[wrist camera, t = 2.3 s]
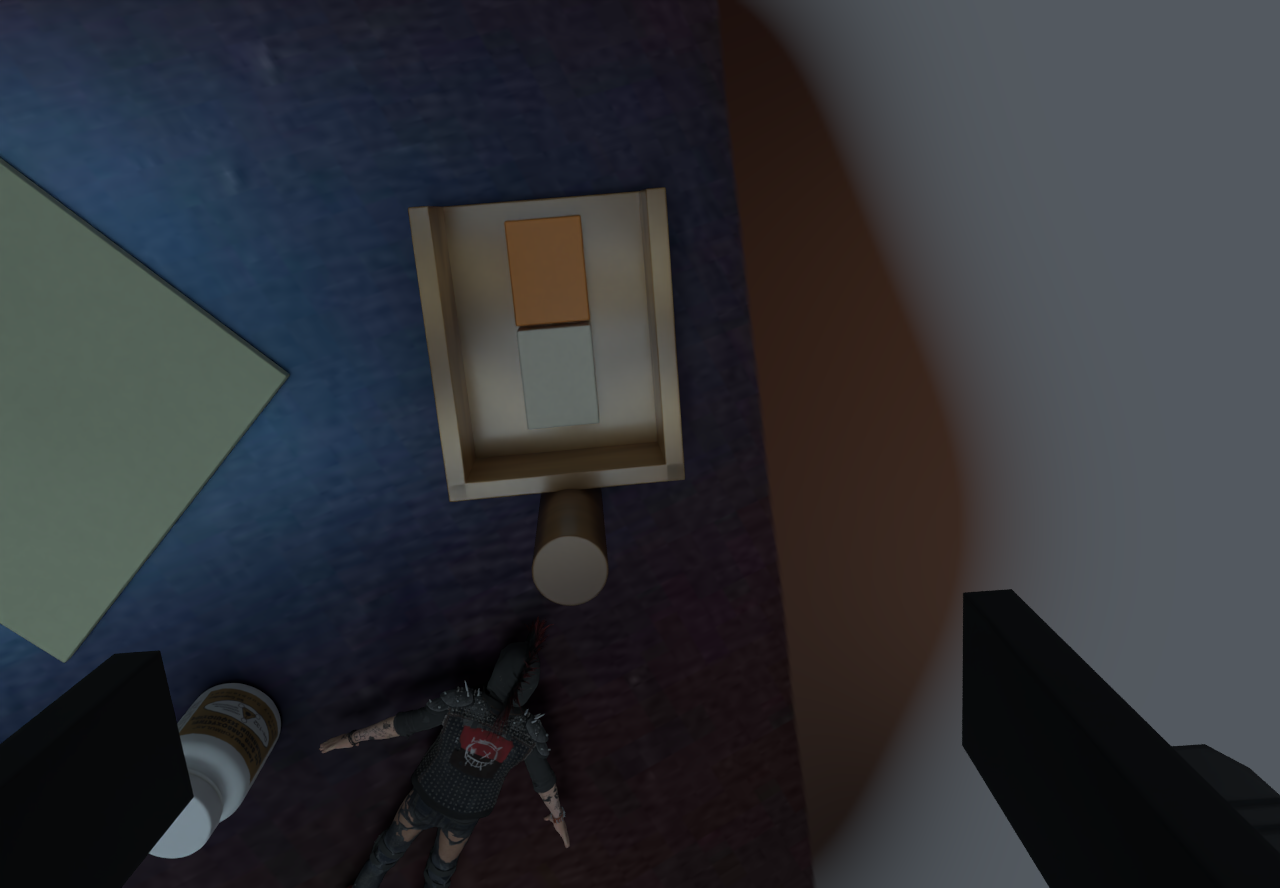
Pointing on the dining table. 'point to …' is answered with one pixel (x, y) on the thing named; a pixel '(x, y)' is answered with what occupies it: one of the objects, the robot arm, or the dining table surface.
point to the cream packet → (558, 375)
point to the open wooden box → (492, 382)
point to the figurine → (464, 763)
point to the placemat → (100, 414)
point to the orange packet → (547, 270)
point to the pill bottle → (220, 760)
